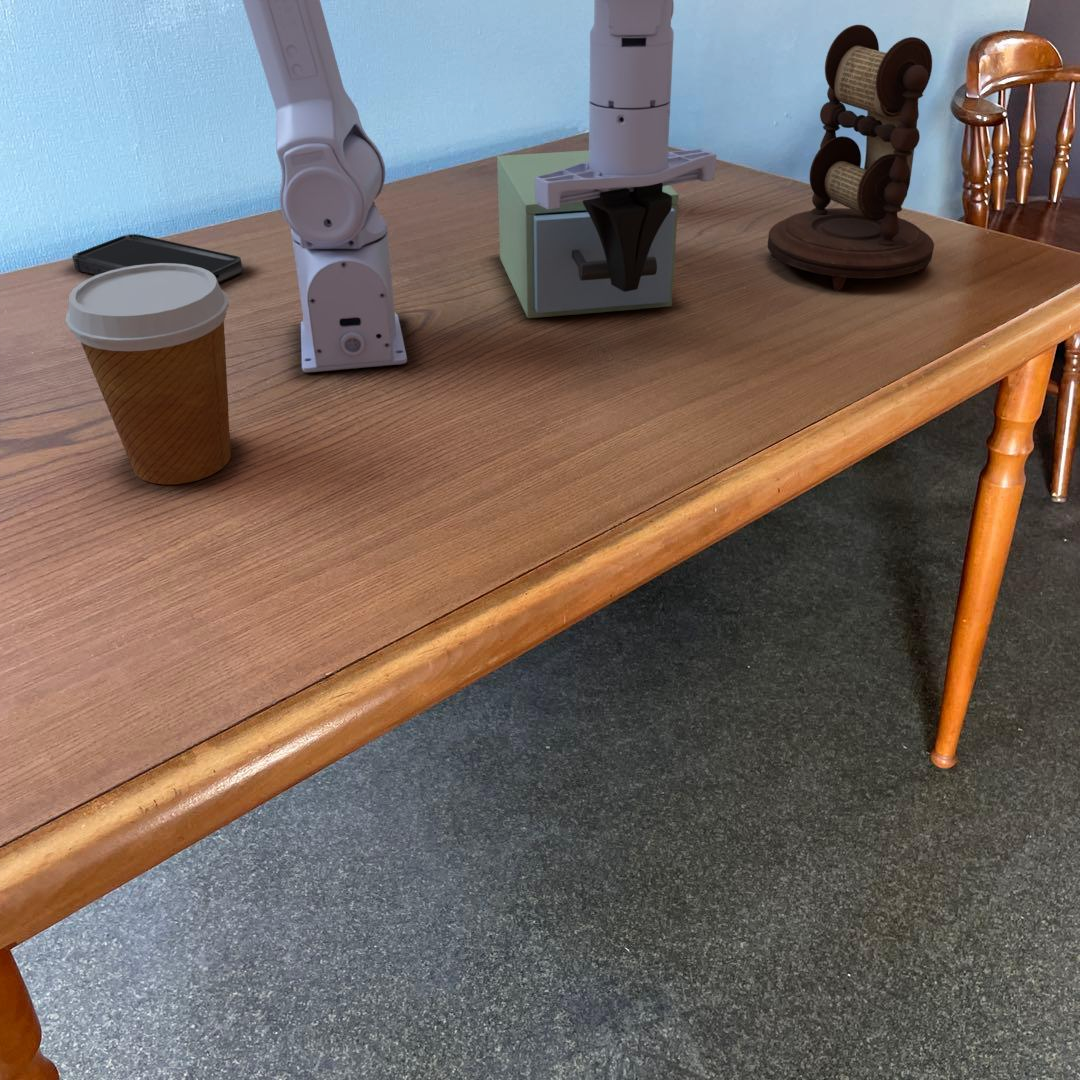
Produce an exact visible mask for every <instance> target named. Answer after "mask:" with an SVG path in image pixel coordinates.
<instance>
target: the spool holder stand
mask: <svg viewBox="0 0 1080 1080" xmlns="http://www.w3.org/2000/svg"><path fill="white" fill-rule="evenodd" d="M879 44H880V43H879V40H878V37H877V34H876V33H875V31H874V30H873V29H871V28H870V27H869V26H867V25H863V24H854V25H853V24H852V25H849V26H847V27H846V28H844V29H843V30H842V31H841V32H840V33H839V34H837V36H836V37H835V39H834V40H833V41H832V43H831V44H830V47H829V49H828V51H827V54H826V56H825V62H824V76H825V80H826V83H827V85H828V89H827V92H826V95H827V99H828V101H827V102H825V103H824V104H823V105H822V106H821V109H820V111H819V119H820V121H821V123H822V124H823V126H822V129H823V130H824V131H825V132H824V135H823V138H822V140H821V142H820V145H819V149H818V151H817V153H816V154H815V156H814V158H813V159H812V162H811V165H810V169H809V184H810V188H811V190H812V192H813V194H812V198H811V201H812V204H813V206H814V208H812V209H810V210H807V211H802V212H799V213H795V214H792V215H790V216H788V217H787V218H785V219H783V220H780V221H778V222H776V223H775V224H774V225H773V226H772V227H770V229H769V231H768V238H767V249H768V251H769V253H770V255H771V257H773V258H776V259H777V260H779V261H781V262H782V263H784V264H786V265H789V266H791V267H794V268H795V269H796V268H797V269H799V270H803V271H806V272H810V273H815V274H819V275H825V276H831V277H832V285H833V288H834V290H835V291H840V290H842V288H843V286H844V285H845V282H846V280H847V278H850V279H884V278H892V277H893V278H894V277H900V276H905V275H908V274H912V273H915V272H917V273H919V274H924V272H925V271H926V270H927V268H928V266H929V264H930V263H931V262H932V259H933V256H934V255H933V254H934V248H935V243H934V240H933V239H932V237H931V236H930V235H929V234H928V233H926V232H925V231H924V230H923V229H921V228H920V227H918V226H917V225H916V224H914V223H912V222H910V221H909V220H905V219H903V218H901V217H899V215H898V213H899V212H902V210H903V207H902V206H903V204H904V202H905V200H906V198H907V196H908V192H909V188H910V185H911V178H912V171H913V163H914V154H915V149H916V148H917V146H918V144H919V143H920V130H919V129H918V128H917V127H918V120H919V116H920V112H919V99H921V98H922V97H923V96H924V94H923V93H924V92H925V90H926V89H927V87H928V85H929V82H930V78H931V75H932V70H933V56H932V52H931V49H930V47H929V45H928V43H926V41H924V40H923V39H921V38H919V37H916V36H909V37H905V38H902V39H900V40H898V41H897V42H896V43H895V44H893V45H892V46H891V47H890V48H889V49H888V50H887V52H884V51H880V45H879ZM846 105H848V106H851V107H854V108H857V109H861V110H863V111H866V112H867V115H864V114H860V115H859V114H858V115H857V114H856V113H855V112H854V111H852V110H849V109H847V107H846ZM840 126H841V127H842V128H843V129H852V128H853V130H854V131H855V132H856V133H859V134H860V135H862V136H864V137H866V139H865V140H866V143H865V160H864V167H861V165H862V154H861V150H860V147H859V144H858V143H857V142H856V141H855V140H854V139H853V138H851V137H848V136H843V135H842V136H837V131H839V130H840V129H841V127H840ZM831 201H833V202H835V203H837V204H839V205H842V206H844V207H833V208H832V207H831V208H827V207H828V206H829V205H830V203H831ZM846 207H847V208H846Z"/></svg>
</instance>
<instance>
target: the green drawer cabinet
mask: <svg viewBox="0 0 1080 1080" xmlns="http://www.w3.org/2000/svg"><path fill="white" fill-rule="evenodd" d="M587 161H589V149H587V150H573V151H571V150H570V151H557V152H556V151H555V152H541V153H539V152H538V153H524V154H522V153H521V154H506V155H497V156H496V164H497V165H496V166H497V167H496V169H497V171H496V172H497V199H498V201H497V203H498V234H499V259H500V262H501V264H502V265H503V268H504V270H505V273H506V274H507V276H508V278H509V281H510V283H511V284H512V288H513V289H514V291H515V294H516V296H517V298H518V301H519V303H520V305H521V307H522V309H523V311H524V313H525V315H526V317H527V319H539V318H549V317H562V316H563V317H564V316H572V315H573V316H574V315H584V314H585V315H586V314H598V313H610V312H620V311H621V312H622V311H633V310H634V311H635V310H645V309H657V308H667V307H669V308H670V307H672V305H673V293H674V277H675V276H674V275H675V260H676V259H675V258H676V246H677V245H676V243H677V230H678V229H677V228H678V227H677V226H678V213H679V211H678V210H679V199H680V198H679V193H678V192H677V191H676V190H675V189H674V188H673V187H672V185H667V186H663V190H662V192H665V193H667V194H669V195H671V196H672V208H673V209H674V210H675V221H674V237H673V253H672V270H671V286H670V301H669V302H666V303H654V304H642V305H630V306H618V307H606V308H594V309H581V310H569V311H557V312H545V313H537V311H536V309H535V297H534V216H536V214H540V213H554V212H568V211H583V210H586V208H585V206H584V204H583V201H578V202H572V203H567V204H561V205H560V208H557V209H551V210H548V209H546V208H543V207H542V206H540V205H538V204H536V203H535V176H540V175H545V174H549V173H553V172H556V171H559V170H562V169H565V168H568V167H572V166H575V165H578V164H581V163H584V162H587Z"/></svg>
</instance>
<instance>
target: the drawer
mask: <svg viewBox="0 0 1080 1080" xmlns="http://www.w3.org/2000/svg"><path fill="white" fill-rule="evenodd" d="M674 221H675V210H674V209H673V208H671V211H670V212H669V214H668V215H667V217H666V218H665V220H664V221H663V223H662V225H661V226H660V228H659V230H658V232H657V234H656V236H655V238H654V240H653V242H652V245H651V247H650V250H649V253H648V255H647V258H646V261H645V264H644V268H643V271H642V275H641V278H640V282H639V285H638V289H636V290H632V291H627V292H624V291H622V290H620V289H618V288H617V287H615V286H613V285H611V279H610V274H609V269H608V265H607V260H606V256H605V253H604V249H603V246H602V243H601V240H600V237H599V235H598V232H597V230H596V228H595V225H594V223H593V221H592V219H591V217H590V215H589V213H588V211H587V210H583V211H568V212H554V213H540V214H536V216H534V297H535V309H536V311H537V313H545V312H557V311H569V310H581V309H594V308H606V307H618V306H630V305H642V304H654V303H666V302H669V301H670V286H671V270H672V253H673V237H674Z"/></svg>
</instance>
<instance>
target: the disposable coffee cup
mask: <svg viewBox="0 0 1080 1080" xmlns="http://www.w3.org/2000/svg"><path fill="white" fill-rule="evenodd" d="M229 302H230V301H229V297H228V294H227V293H226V291H224V290H223V289H221V286H220V283H218V281H217V279H216V277H215V276H214V274H212V273H211V272H210V271H208V270H205V269H203V268H200V267H195V266H191V265H186V264H175V263H157V264H144V265H135V266H129V267H124V268H120V269H115V270H111V271H108V272H105V273H102V274H98V275H95V274H94V275H93V276H92V277H89V278H87V279H85V280H82V282H80V283H79V284H77V285H76V286H75V287H73V288H72V290H71V292H70V293H69V295H68V311H67V312H66V314H65V319H64V320H65V324H66V325H67V327H68V329H69V331H71V332H72V333H73V334H74V337H75V338H76V339H77V341H79V342H80V345H81V346H82V350H83V351H84V354H85V356H86V359H87V361H88V364H89V366H90V369H91V370H92V373H93V375H94V378H95V381H96V383H97V386H98V387H99V390H100V392H101V395H102V398H103V400H104V402H105V404H106V407H107V410H108V412H109V414H110V417H111V419H112V421H113V424H114V426H115V428H116V431H117V434H118V437H119V438H120V441H121V444H122V447H123V448H124V451H125V453H126V456H127V458H128V461H129V463H130V465H131V468H132V471H133V472H134V475H136V476H137V478H139V479H141V480H142V481H145V482H148V483H152V484H155V485H156V484H157V485H181V484H187V483H192V482H197V481H199V480H202V479H205V478H208V477H210V476H212V475H214V474H216V473H218V472H219V471H221V470H222V469H223V468H224V467H225V466H226V465H227V464H228V463H229V461H230V459H231V457H232V456H231V455H232V452H231V451H232V450H231V438H230V417H229V416H230V415H229V395H228V381H227V380H228V379H227V377H228V374H227V354H226V336H225V319H226V317H227V310H228V308H229Z"/></svg>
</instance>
